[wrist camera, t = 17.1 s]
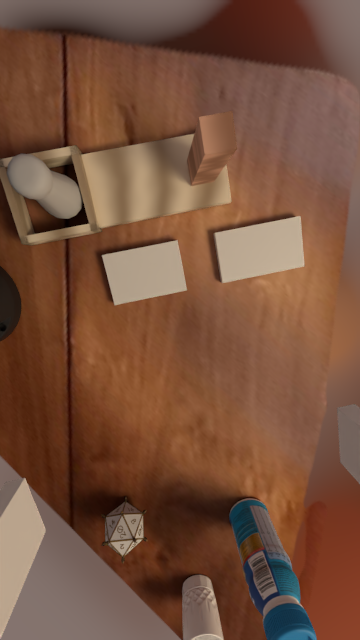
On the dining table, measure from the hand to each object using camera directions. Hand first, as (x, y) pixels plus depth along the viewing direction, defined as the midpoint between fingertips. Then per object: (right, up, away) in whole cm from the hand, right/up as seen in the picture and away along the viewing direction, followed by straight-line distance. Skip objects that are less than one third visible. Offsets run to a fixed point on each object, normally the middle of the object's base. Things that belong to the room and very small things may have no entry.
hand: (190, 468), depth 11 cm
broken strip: (+4, +16, +32) cm, 36 cm away
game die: (-11, -32, +42) cm, 54 cm away
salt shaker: (-17, +24, +29) cm, 42 cm away
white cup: (+3, -54, +48) cm, 72 cm away
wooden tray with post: (-9, +26, +29) cm, 40 cm away
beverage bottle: (+14, -35, +45) cm, 58 cm away
